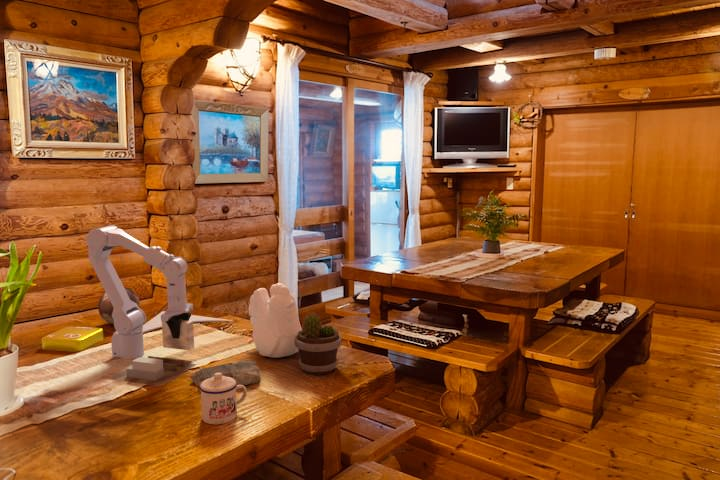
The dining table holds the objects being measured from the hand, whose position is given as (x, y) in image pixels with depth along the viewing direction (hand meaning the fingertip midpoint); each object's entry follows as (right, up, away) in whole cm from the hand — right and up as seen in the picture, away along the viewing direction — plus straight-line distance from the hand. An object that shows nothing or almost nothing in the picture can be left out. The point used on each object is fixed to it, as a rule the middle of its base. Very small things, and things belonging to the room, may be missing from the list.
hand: (178, 336), depth 184 cm
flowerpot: (+46, -9, -7) cm, 47 cm away
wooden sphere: (-36, -2, +40) cm, 54 cm away
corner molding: (-10, -4, +33) cm, 34 cm away
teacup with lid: (+24, -14, -38) cm, 47 cm away
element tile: (-43, -6, +17) cm, 46 cm away
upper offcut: (-4, -7, -16) cm, 18 cm away
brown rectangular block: (0, -4, +1) cm, 4 cm away
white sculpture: (+30, -7, +10) cm, 32 cm away
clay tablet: (+19, -11, -16) cm, 27 cm away
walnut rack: (-4, -10, -11) cm, 15 cm away
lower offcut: (-5, -9, -15) cm, 18 cm away
